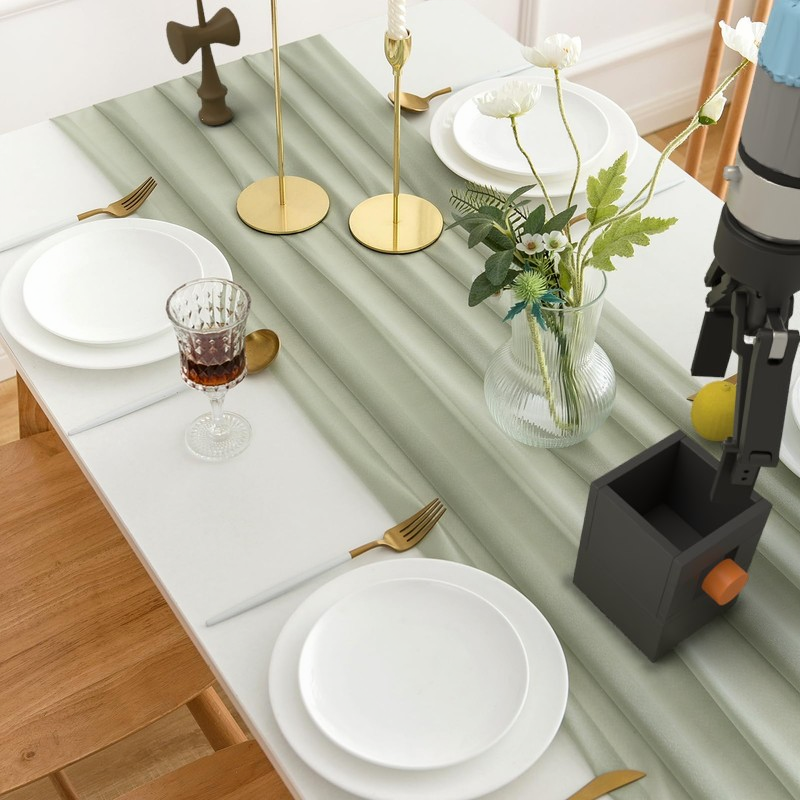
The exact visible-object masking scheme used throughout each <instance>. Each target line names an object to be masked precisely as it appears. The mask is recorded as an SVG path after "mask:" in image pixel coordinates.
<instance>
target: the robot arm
mask: <svg viewBox="0 0 800 800" xmlns="http://www.w3.org/2000/svg"><path fill="white" fill-rule="evenodd" d="M756 57H757V62H756V66H755V69H754V76H753V78H752V79H753V80H752V84H751V89H750V93H749V98H748V100H747V101H748V102H747V106H746V110H745V114H744V119H743V123H742V127H741V131H740V137H739V141H738V144H737V150H736V154H735V162H734V165H726V166H725V167H723V173H722V178H723V179H724V180H725V181H726V182H728V187H727V192H726V195H725V202H724V204H723V205H722V208H721V211H720V215H719V220H718V223H717V227H716V232H715V236H714V240H713V245H712V250H713V255H714V258H713V259H712V261H711V263H710V265H709V266H708V269H707V271H706V273H705V276H704V278H703V283H704V286H705V288H711V290H710V291H708V293H707V294H706V297H705V298H704V299H705V300H704V301H705V303H704V304H705V306H706V308H707V309H709V311H707V310H706V311H704V314H703V319H702V323H701V327H700V330H699V335H698V339H697V342H696V347H695V350H694V355H693V359H692V363H691V366H690V376H691V377H701V378H702V377H704V378H721V379H722V378H723V379H724V378H725V376H726V373H727V370H728V366H729V362H730V360H731V355H732V352H733V353H735V354H736V355H737V357H738V358H737V359H738V360H737V374H736V385H735V386H736V398H735V412H734V425H733V436H732V437H727V439H726V440H725V441H724V442H723V441H720V442H721V443H720V444H721V445H720V449H721V451H722V452H721V453H722V454H721V456H720V460H719V461H720V463H719V466H718V470H717V473H716V476H715V480H714V483H713V486H712V490H711V493H710V499H711V503H724V504H742V505H748V503H749V500H750V497H751V494H752V491H753V489H754V488H755V485H756V483H757V479H758V476H759V474H760V472H761V471H760V470H761V468H773V469H775V468H777V467H778V466H779V462H780V453H781V447H782V441H783V433H784V426H785V419H786V413H787V408H788V400H789V394H790V386H791V380H792V373H793V368H794V363H795V359H796V355H797V352H798V348H799V346H800V345H799V344H800V331H799V329H790V328H789V326H790V325H789V323H790V319H791V318H792V317H793V315H794V308H795V296H794V295H795V294H797V293H798V292H800V0H774V1H773V6H772V7H771V10H770V13H769V16H768V20H767V23H766V26H765V30H764V33H763V35H762V37H761V40H760V42H759V44H758V50H757V56H756ZM745 337H749V338H750V337H751V338H753V340H752V343H747V342H746V341H745Z"/></svg>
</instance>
